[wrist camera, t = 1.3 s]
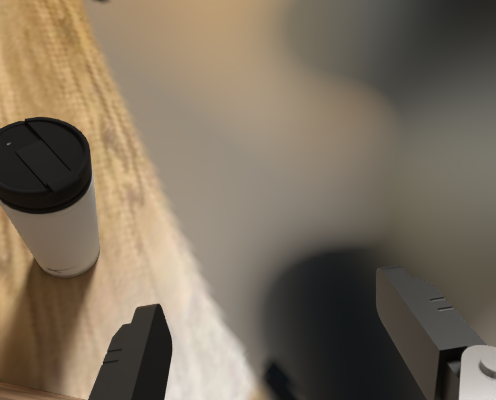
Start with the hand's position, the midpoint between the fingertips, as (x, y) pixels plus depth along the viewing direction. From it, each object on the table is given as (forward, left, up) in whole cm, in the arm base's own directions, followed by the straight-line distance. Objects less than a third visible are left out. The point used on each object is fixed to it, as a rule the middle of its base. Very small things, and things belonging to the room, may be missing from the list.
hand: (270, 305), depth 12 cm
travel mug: (-13, +8, -29) cm, 33 cm away
